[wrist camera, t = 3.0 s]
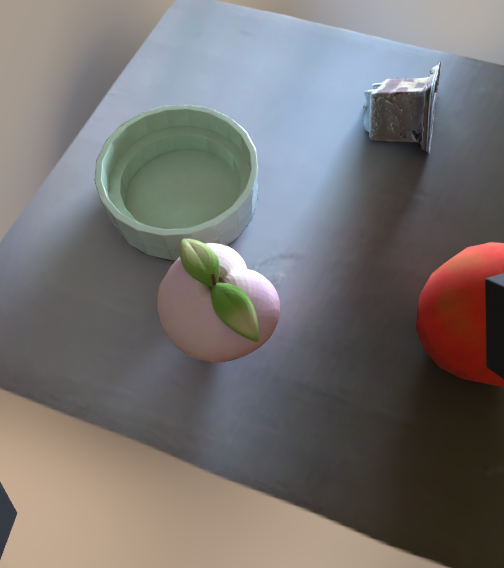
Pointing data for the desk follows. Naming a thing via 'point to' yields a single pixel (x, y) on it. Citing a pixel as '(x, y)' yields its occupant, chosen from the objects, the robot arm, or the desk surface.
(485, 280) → the robot arm
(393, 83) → the grey blocky piece
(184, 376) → the desk surface
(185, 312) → the decorative fruit
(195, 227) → the bowl
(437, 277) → the apple
